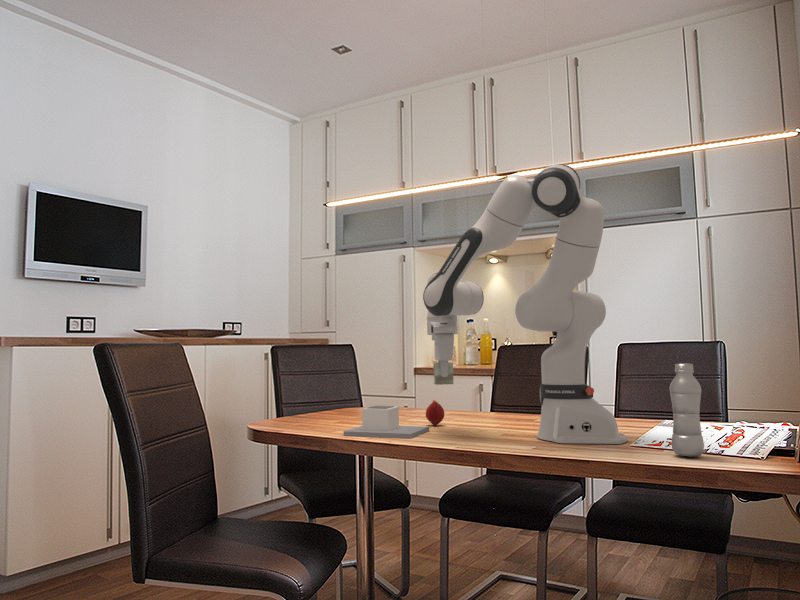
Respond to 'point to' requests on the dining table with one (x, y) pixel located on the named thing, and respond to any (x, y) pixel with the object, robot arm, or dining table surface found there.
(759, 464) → the dining table surface
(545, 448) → the dining table surface
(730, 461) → the dining table surface
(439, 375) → the sage block
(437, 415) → the onion
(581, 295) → the robot arm
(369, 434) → the build base
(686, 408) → the plastic bottle
